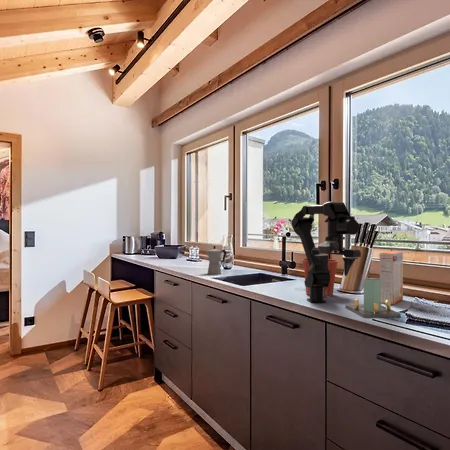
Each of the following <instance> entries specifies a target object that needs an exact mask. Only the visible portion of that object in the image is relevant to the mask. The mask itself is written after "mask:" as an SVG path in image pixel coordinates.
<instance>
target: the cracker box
mask: <svg viewBox="0 0 450 450" xmlns="http://www.w3.org/2000/svg"><path fill="white" fill-rule="evenodd" d="M403 253H404V252H402V251H397V250H395V251H393V250H392V251H391V250H390V251H385V252H380V253H379V279H381V304H385V305H386V300H391V305H395V304H398V303H399V302H401V301H403V300H404V270H403V268H404V267H403V264H404V261H403V259H404V257H403V255H404V254H403Z"/></svg>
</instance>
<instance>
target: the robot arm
mask: <svg viewBox="0 0 450 450" xmlns="http://www.w3.org/2000/svg"><path fill="white" fill-rule="evenodd" d="M306 215H309V216H308V217H307V216H306ZM315 215H323V216H325V217H326V216H327V217H326V219H325V220H324V223H327V236H325V240H324V241H322V242H321V243H319V244H318V245H317V246H316V244H315V242H314V240H313V239H314V238H313V237H312V230H313V224H314V221H315ZM290 225H291V228H292V229H293V232H294V233H295V234H296V235H297V236H298V237H299V238H300V242H301V245H302V247H303V252H304V254H305V257H306V259H307V260H308V263H309V269H308V277H307V278H306V280H305V279H304V287H305V288H306V287H309V288H310V295H309V298H306V300H307V301H308V302H309V303H311V304H320V303H322V304H323V303H327V300H325V299H324V298H325V297H324V287H328V286H329V282H330V271H329V270H328V259H329V256H330V255H336V256H337V255H338V256H344V257H342V260H343V262H344V263H343V267H344V268H343V276H344V277H347V276H348V274H349V273H350V272H349V271H350V269H351V268H352V267H353V266H352V265H353V264H354V262H355V261H356V260H358V258H361V257H362V252H361V251H360V249H359V248H358V249H355V248H347V249H346V247H345V246H344V240H346V236H347V235H348V236H355V235H356V234H357V233H359V230H360V224H359V222H358V221H357V220H356V219H355V216H354V215H353V216H352V215H351V214H350V212H349V210H348V207H347V206H346V205H345V203H344V202H343V201H341V202H340V201H328V202H325V203H323V204H321V205H319V204H318V205H307V204H305V205H303V206H302V208H301V210H299V211H298V212H297V213H296V214H294V216H293V218H292V220H291V224H290ZM344 235H346V236H344Z"/></svg>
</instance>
